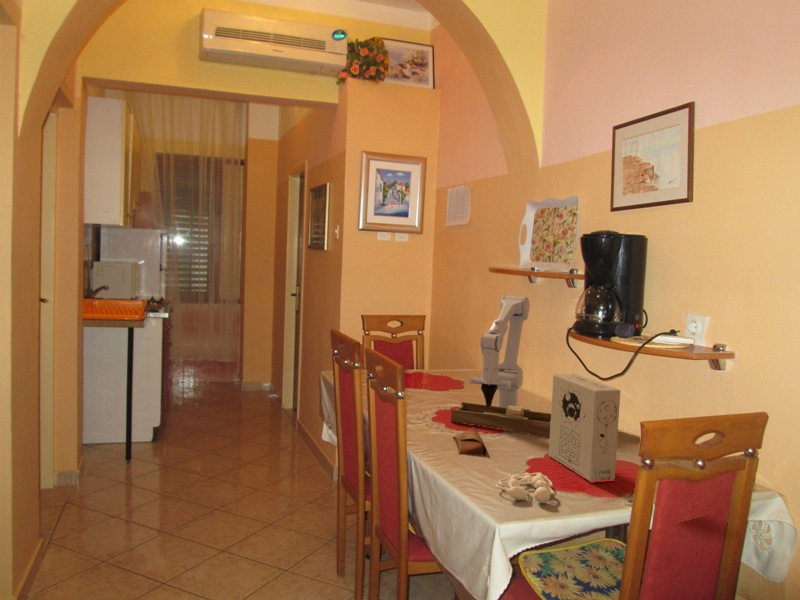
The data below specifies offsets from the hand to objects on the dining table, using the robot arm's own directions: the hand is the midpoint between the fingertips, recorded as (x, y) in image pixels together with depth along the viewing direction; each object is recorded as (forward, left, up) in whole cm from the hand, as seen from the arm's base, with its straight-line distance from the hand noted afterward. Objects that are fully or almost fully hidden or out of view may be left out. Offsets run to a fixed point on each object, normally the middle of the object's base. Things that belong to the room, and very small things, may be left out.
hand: (488, 405), depth 217 cm
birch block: (0, +9, -4) cm, 10 cm away
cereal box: (+34, +35, -6) cm, 49 cm away
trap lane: (0, +5, -6) cm, 8 cm away
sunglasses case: (+29, +1, -7) cm, 30 cm away
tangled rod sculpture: (+57, +25, -7) cm, 62 cm away
